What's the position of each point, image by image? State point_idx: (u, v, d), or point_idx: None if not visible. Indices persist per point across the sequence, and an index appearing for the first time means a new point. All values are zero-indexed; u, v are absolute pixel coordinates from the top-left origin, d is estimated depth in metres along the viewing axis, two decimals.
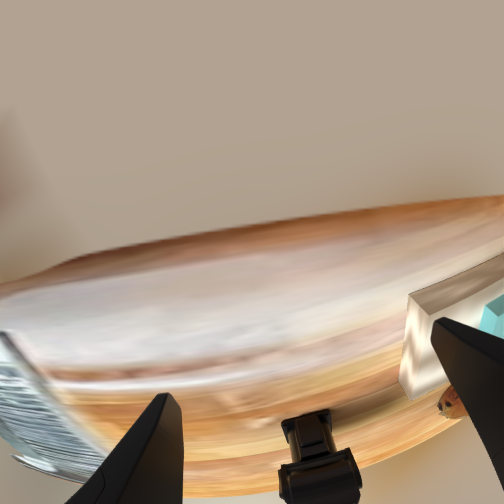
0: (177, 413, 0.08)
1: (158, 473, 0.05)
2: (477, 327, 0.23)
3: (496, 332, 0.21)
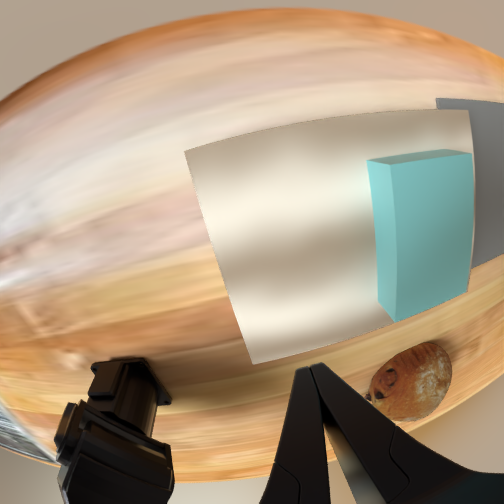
0: None
1: None
2: (368, 215, 0.15)
3: (407, 214, 0.12)
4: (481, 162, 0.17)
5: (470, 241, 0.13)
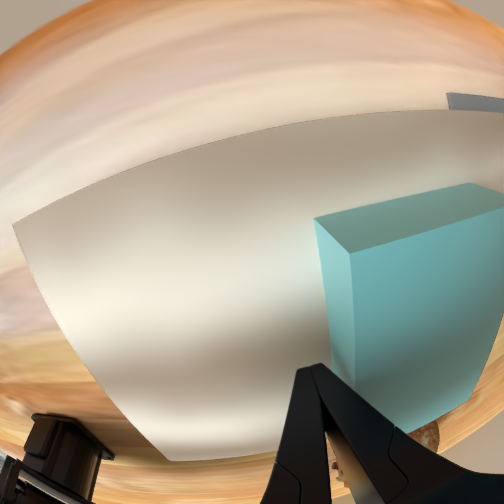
0: None
1: None
2: (313, 315, 0.08)
3: (382, 342, 0.06)
4: None
5: (491, 343, 0.07)
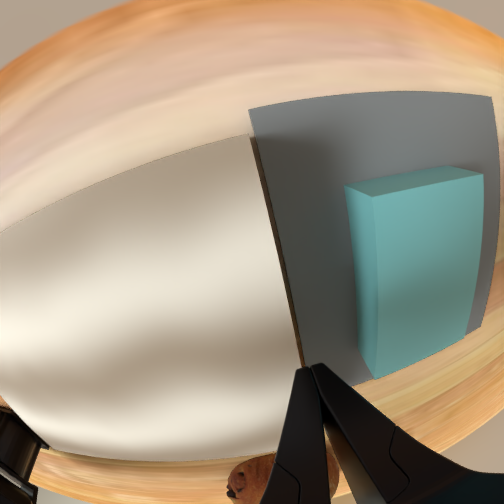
0: None
1: (326, 453, 0.05)
2: (60, 361, 0.09)
3: None
4: None
5: None
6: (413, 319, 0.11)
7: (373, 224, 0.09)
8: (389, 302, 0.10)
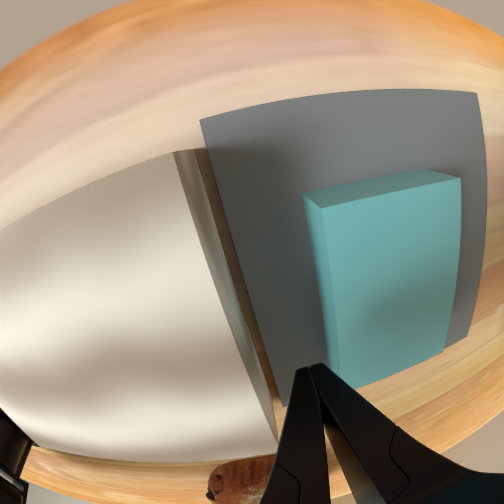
0: None
1: None
2: (33, 364, 0.09)
3: None
4: None
5: None
6: (378, 334, 0.10)
7: (325, 237, 0.09)
8: (349, 317, 0.10)
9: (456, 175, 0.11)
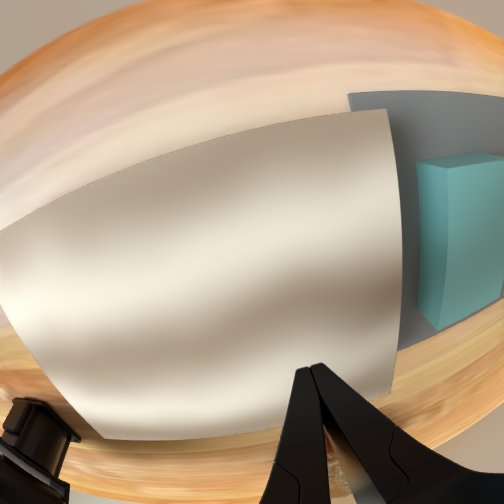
0: None
1: None
2: (162, 323, 0.10)
3: None
4: None
5: None
6: (467, 273, 0.12)
7: (446, 190, 0.10)
8: (454, 255, 0.11)
9: None
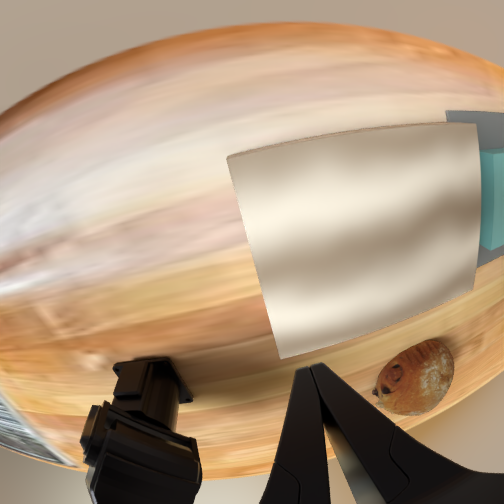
0: None
1: None
2: (389, 220, 0.16)
3: None
4: None
5: None
6: (503, 214, 0.18)
7: (493, 165, 0.16)
8: (497, 202, 0.17)
9: None
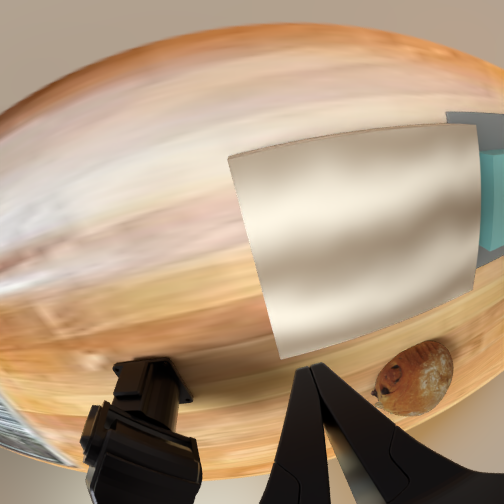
0: None
1: None
2: (389, 221, 0.16)
3: None
4: None
5: None
6: (502, 215, 0.18)
7: (492, 166, 0.16)
8: (496, 203, 0.17)
9: None
